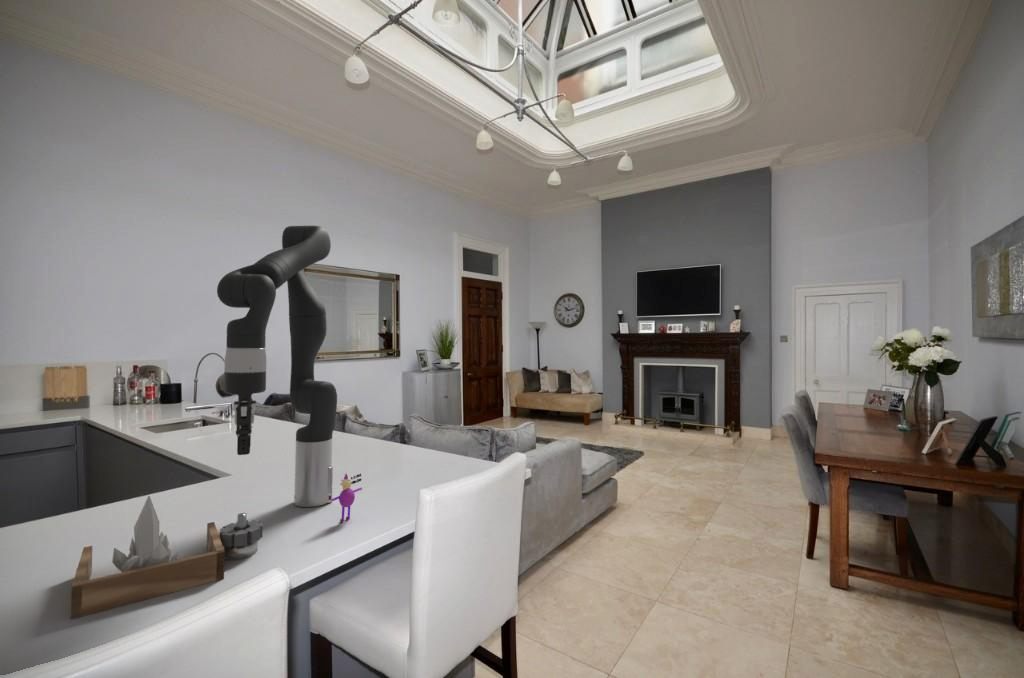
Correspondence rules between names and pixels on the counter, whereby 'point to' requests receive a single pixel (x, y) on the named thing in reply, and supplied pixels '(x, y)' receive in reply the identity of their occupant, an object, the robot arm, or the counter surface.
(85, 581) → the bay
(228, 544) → the wheel
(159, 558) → the crystal
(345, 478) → the wizard figurine
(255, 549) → the axle mount
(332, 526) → the counter surface
